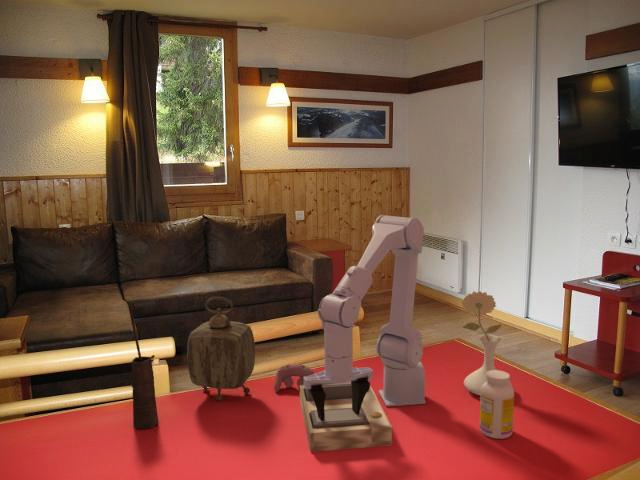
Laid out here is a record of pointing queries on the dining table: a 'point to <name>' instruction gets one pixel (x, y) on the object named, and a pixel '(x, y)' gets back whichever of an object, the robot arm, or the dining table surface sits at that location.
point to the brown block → (338, 418)
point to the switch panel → (348, 436)
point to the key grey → (334, 391)
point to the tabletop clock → (221, 352)
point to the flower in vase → (481, 338)
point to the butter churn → (143, 388)
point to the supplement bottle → (497, 405)
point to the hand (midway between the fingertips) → (338, 415)
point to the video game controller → (289, 371)
